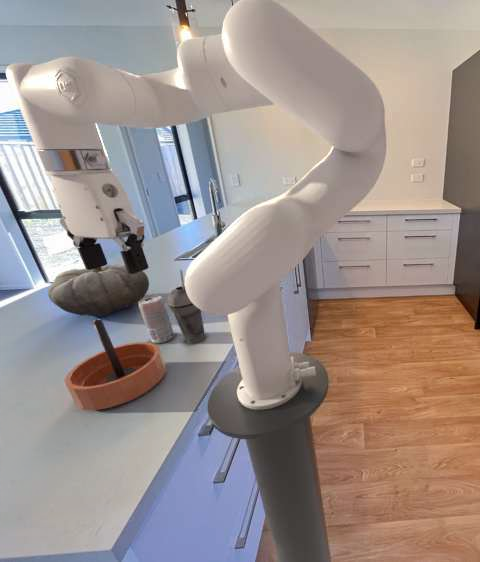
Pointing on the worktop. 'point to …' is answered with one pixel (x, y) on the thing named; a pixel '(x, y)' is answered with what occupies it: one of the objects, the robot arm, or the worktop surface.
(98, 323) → the grey disc stick
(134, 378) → the bowl
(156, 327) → the energy drink
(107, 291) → the gourd
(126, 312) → the worktop surface
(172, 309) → the beverage cup
